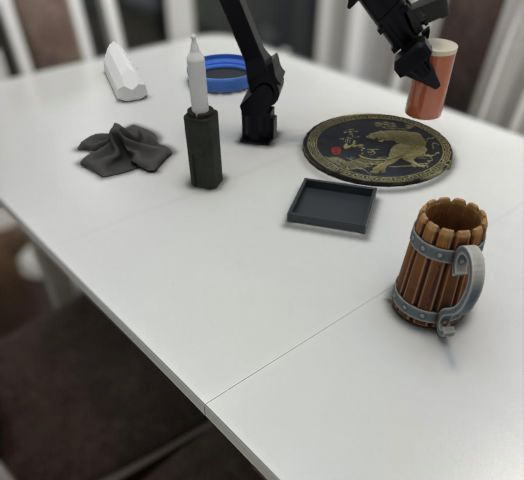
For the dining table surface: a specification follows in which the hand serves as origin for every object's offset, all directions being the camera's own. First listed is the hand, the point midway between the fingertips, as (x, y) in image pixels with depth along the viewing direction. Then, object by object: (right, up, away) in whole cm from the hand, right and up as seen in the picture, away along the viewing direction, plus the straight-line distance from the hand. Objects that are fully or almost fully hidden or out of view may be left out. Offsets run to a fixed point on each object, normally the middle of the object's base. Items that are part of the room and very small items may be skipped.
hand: (437, 79), depth 98 cm
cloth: (-61, -9, +11) cm, 63 cm away
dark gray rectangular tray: (-20, -26, -6) cm, 34 cm away
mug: (-9, -46, -24) cm, 52 cm away
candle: (-43, -18, +2) cm, 47 cm away
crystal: (-67, +17, +35) cm, 78 cm away
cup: (-1, -4, +5) cm, 6 cm away
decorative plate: (-10, -10, +9) cm, 17 cm away
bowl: (-43, +18, +36) cm, 59 cm away
